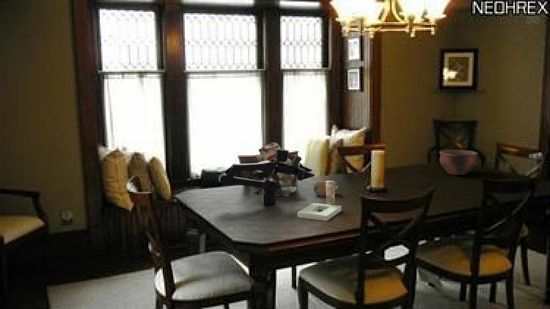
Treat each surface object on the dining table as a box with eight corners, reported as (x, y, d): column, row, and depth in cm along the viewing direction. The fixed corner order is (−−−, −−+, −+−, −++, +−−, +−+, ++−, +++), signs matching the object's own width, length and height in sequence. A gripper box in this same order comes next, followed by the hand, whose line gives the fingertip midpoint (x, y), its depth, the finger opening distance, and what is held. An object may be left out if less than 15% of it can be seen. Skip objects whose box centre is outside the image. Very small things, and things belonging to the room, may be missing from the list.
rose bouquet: (293, 197, 307) (292, 146, 302) (246, 195, 317) (245, 145, 312) (305, 187, 331) (304, 140, 326) (261, 185, 341) (260, 139, 336)
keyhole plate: (326, 220, 260) (326, 215, 259) (297, 217, 267) (297, 212, 267) (341, 210, 277) (341, 206, 276) (313, 207, 284) (313, 203, 284)
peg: (328, 208, 282) (327, 182, 279) (324, 206, 286) (324, 181, 284) (335, 207, 283) (335, 182, 281) (332, 205, 287) (332, 180, 285)
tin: (314, 196, 310) (314, 182, 308) (313, 195, 313) (312, 181, 311) (339, 194, 312) (339, 180, 311) (337, 193, 315) (337, 179, 314)
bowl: (480, 171, 366) (481, 150, 363) (472, 178, 345) (473, 155, 343) (443, 168, 379) (444, 148, 376) (434, 175, 358) (434, 153, 356)
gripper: (290, 159, 281) (319, 163, 283) (286, 150, 299) (313, 154, 301) (286, 179, 284) (314, 183, 286) (282, 169, 301) (309, 173, 304)
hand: (313, 172), depth 294 cm, fingers open, 9 cm apart
